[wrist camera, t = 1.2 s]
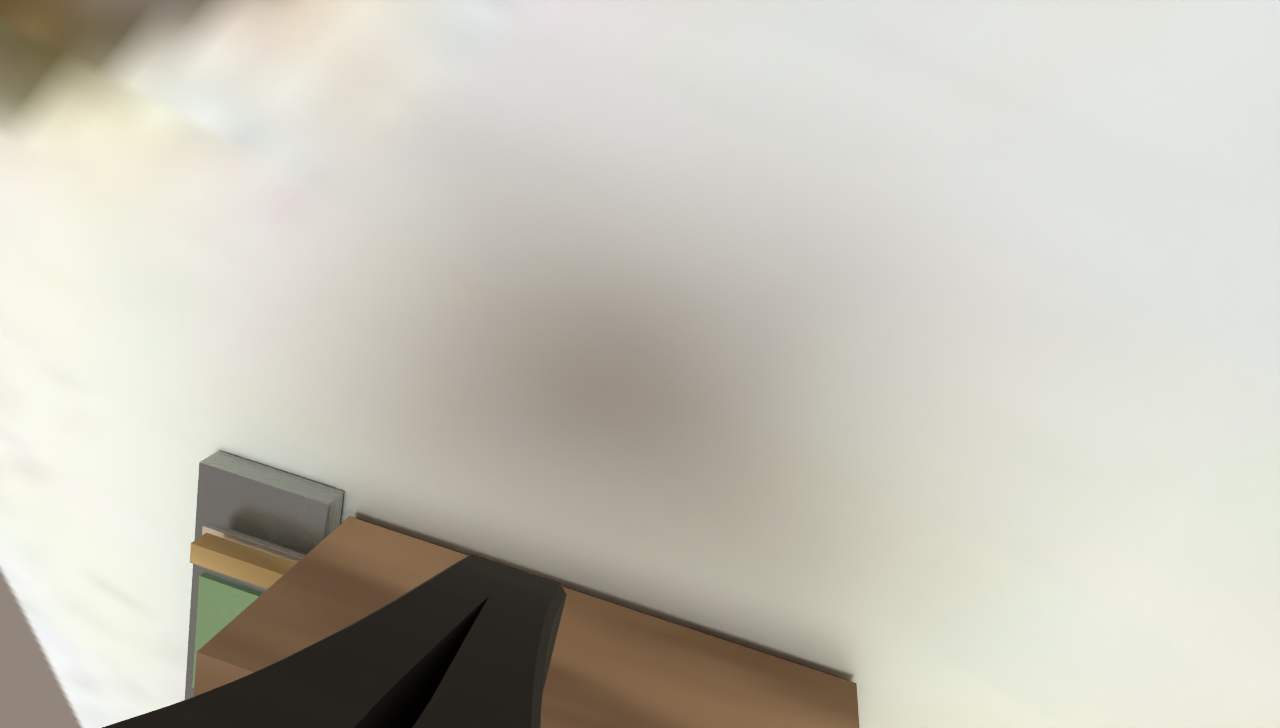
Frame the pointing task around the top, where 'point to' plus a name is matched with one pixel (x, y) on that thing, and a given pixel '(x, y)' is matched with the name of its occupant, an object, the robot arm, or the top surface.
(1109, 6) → the top surface
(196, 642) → the gauge frame
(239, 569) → the brown wooden block
